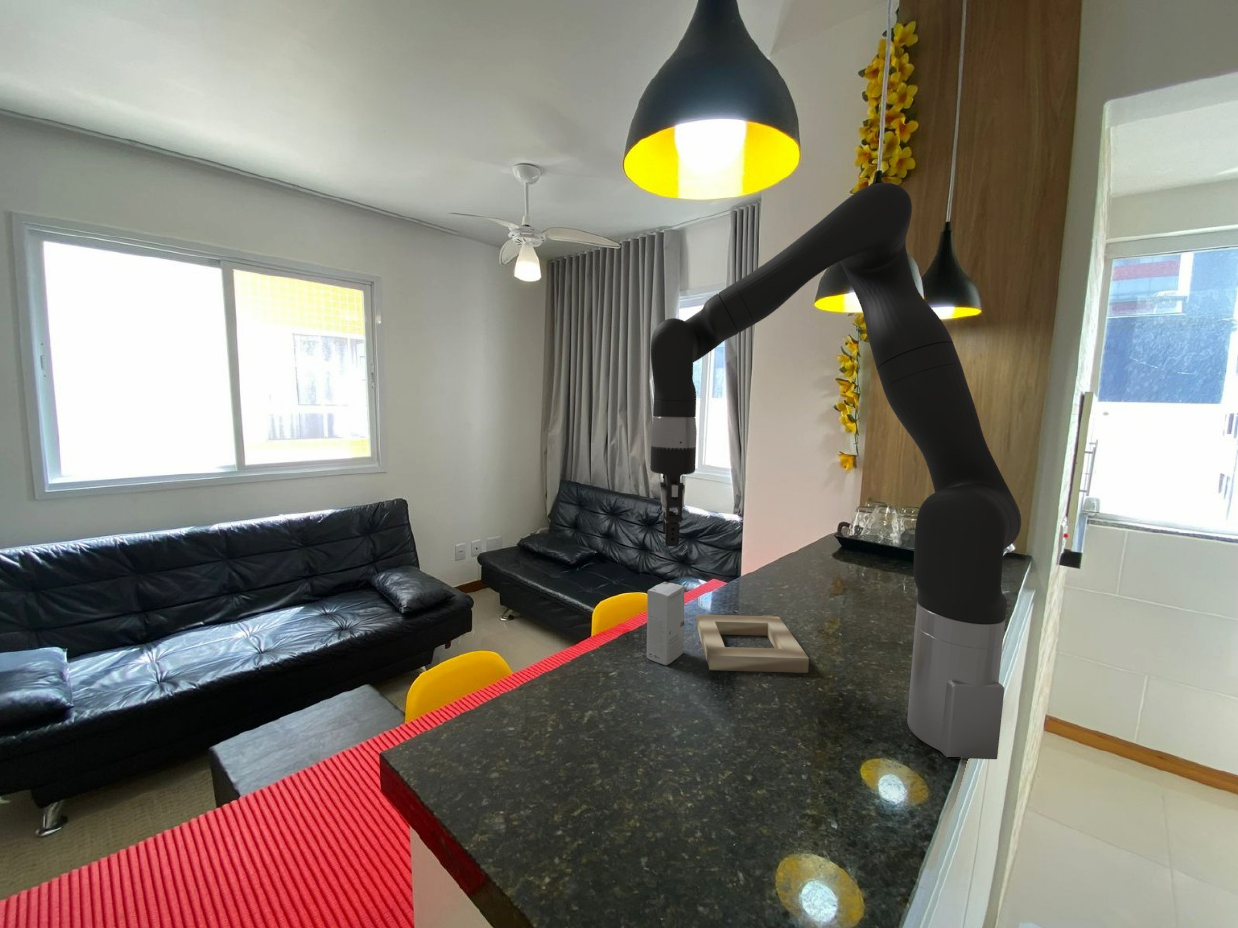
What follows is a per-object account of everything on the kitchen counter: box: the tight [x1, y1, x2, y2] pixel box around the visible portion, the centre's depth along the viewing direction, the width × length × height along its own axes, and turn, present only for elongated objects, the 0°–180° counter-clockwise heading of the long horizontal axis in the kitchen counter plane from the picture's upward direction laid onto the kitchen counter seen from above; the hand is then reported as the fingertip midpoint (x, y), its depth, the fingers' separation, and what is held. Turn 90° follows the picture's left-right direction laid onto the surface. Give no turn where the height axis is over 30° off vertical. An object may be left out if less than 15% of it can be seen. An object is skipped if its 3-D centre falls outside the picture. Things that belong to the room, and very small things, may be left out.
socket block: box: [696, 614, 810, 674], centre depth 86 cm, size 16×16×2 cm
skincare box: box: [646, 581, 685, 666], centre depth 82 cm, size 6×4×12 cm
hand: (670, 538), depth 81 cm, fingers open, 8 cm apart
